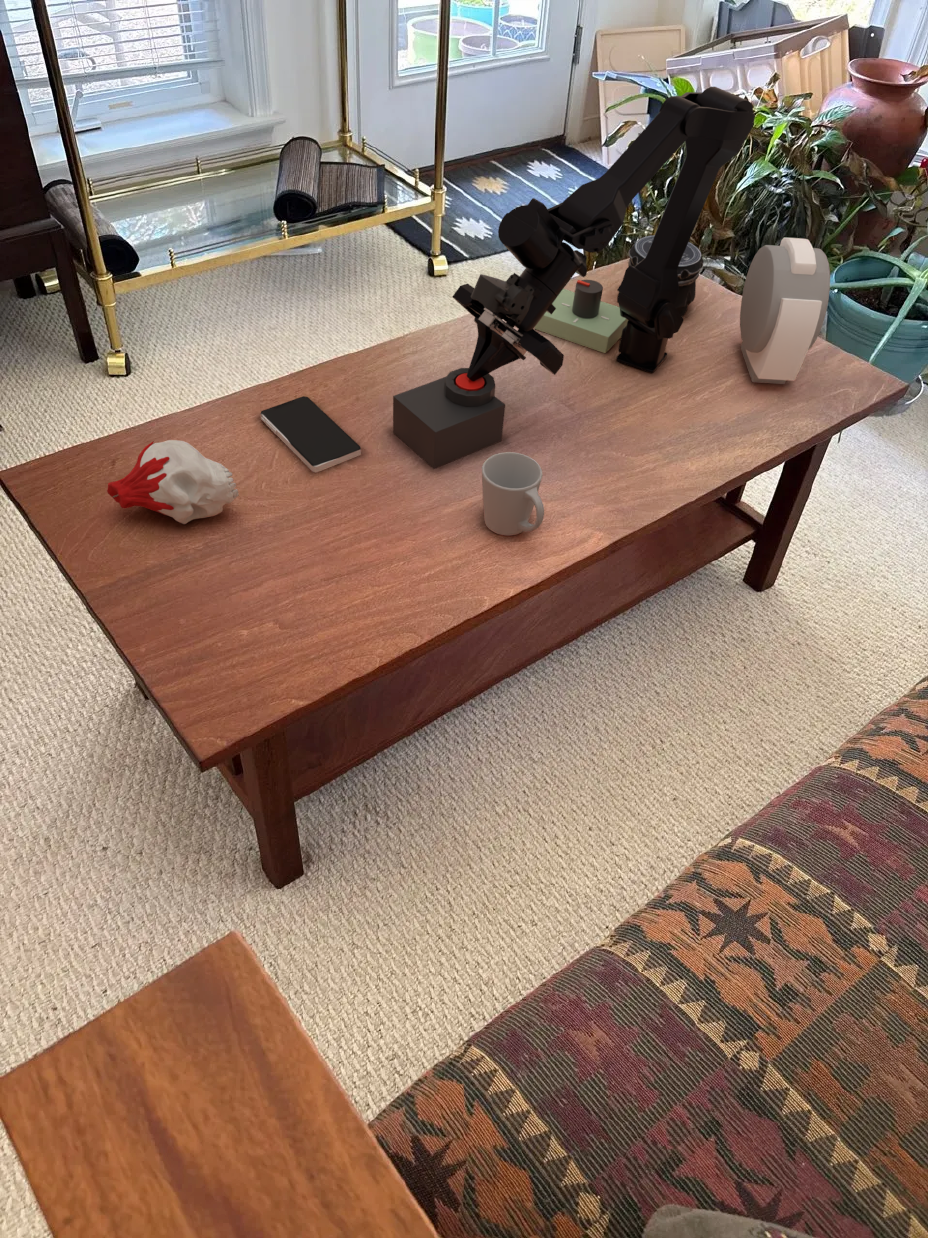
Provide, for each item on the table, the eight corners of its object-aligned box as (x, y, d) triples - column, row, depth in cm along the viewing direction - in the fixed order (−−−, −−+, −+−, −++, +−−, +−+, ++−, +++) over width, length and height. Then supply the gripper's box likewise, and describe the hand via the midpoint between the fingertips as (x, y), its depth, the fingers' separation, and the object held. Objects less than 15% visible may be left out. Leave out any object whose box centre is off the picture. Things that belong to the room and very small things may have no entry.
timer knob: (602, 310, 157) (607, 282, 154) (591, 321, 154) (596, 293, 151) (579, 302, 158) (583, 274, 155) (567, 313, 156) (571, 285, 152)
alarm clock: (799, 398, 148) (844, 275, 133) (745, 394, 148) (785, 271, 133) (776, 337, 160) (815, 219, 145) (726, 334, 160) (760, 215, 145)
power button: (472, 380, 135) (472, 369, 133) (489, 394, 132) (490, 383, 131) (449, 388, 133) (450, 378, 131) (466, 402, 131) (467, 392, 129)
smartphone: (312, 467, 127) (257, 411, 135) (313, 474, 128) (258, 418, 136) (363, 447, 131) (306, 394, 139) (363, 454, 132) (307, 401, 140)
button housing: (464, 404, 141) (468, 357, 136) (506, 438, 136) (512, 391, 130) (392, 432, 136) (393, 384, 130) (433, 469, 130) (435, 420, 125)
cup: (510, 496, 127) (516, 444, 121) (558, 538, 122) (568, 486, 116) (465, 516, 124) (469, 464, 118) (513, 560, 119) (520, 508, 113)
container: (698, 296, 168) (712, 241, 161) (683, 330, 160) (697, 274, 153) (629, 280, 171) (639, 225, 164) (610, 312, 163) (620, 256, 155)
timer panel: (629, 327, 160) (633, 310, 157) (605, 353, 154) (608, 336, 151) (561, 304, 164) (563, 287, 161) (534, 328, 158) (536, 311, 155)
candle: (246, 517, 121) (129, 555, 117) (225, 464, 127) (114, 499, 124) (229, 462, 114) (104, 501, 110) (207, 410, 120) (89, 445, 117)
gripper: (467, 224, 126) (397, 322, 129) (559, 284, 116) (481, 387, 120) (507, 267, 135) (441, 357, 138) (595, 325, 126) (522, 420, 129)
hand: (469, 378), depth 131 cm, fingers closed, pressing on power button
